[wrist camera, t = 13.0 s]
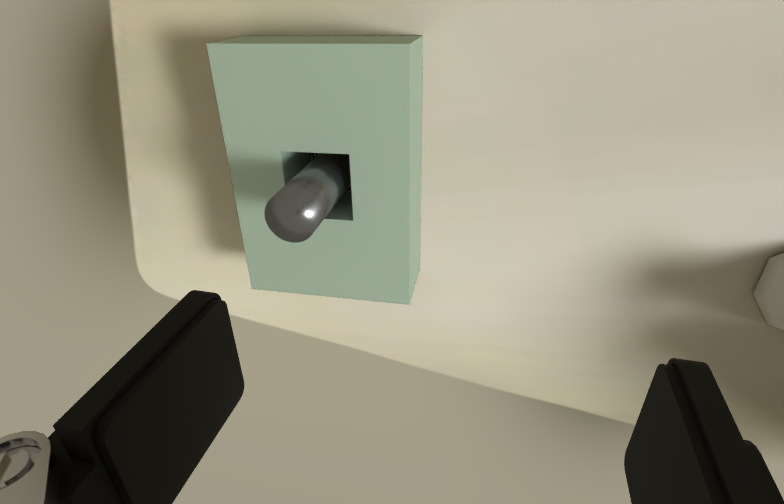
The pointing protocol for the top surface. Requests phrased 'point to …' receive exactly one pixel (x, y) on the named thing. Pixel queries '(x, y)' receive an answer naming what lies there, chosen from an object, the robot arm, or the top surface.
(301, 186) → the peg
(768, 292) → the flask
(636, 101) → the top surface
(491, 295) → the top surface
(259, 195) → the green block with hole
